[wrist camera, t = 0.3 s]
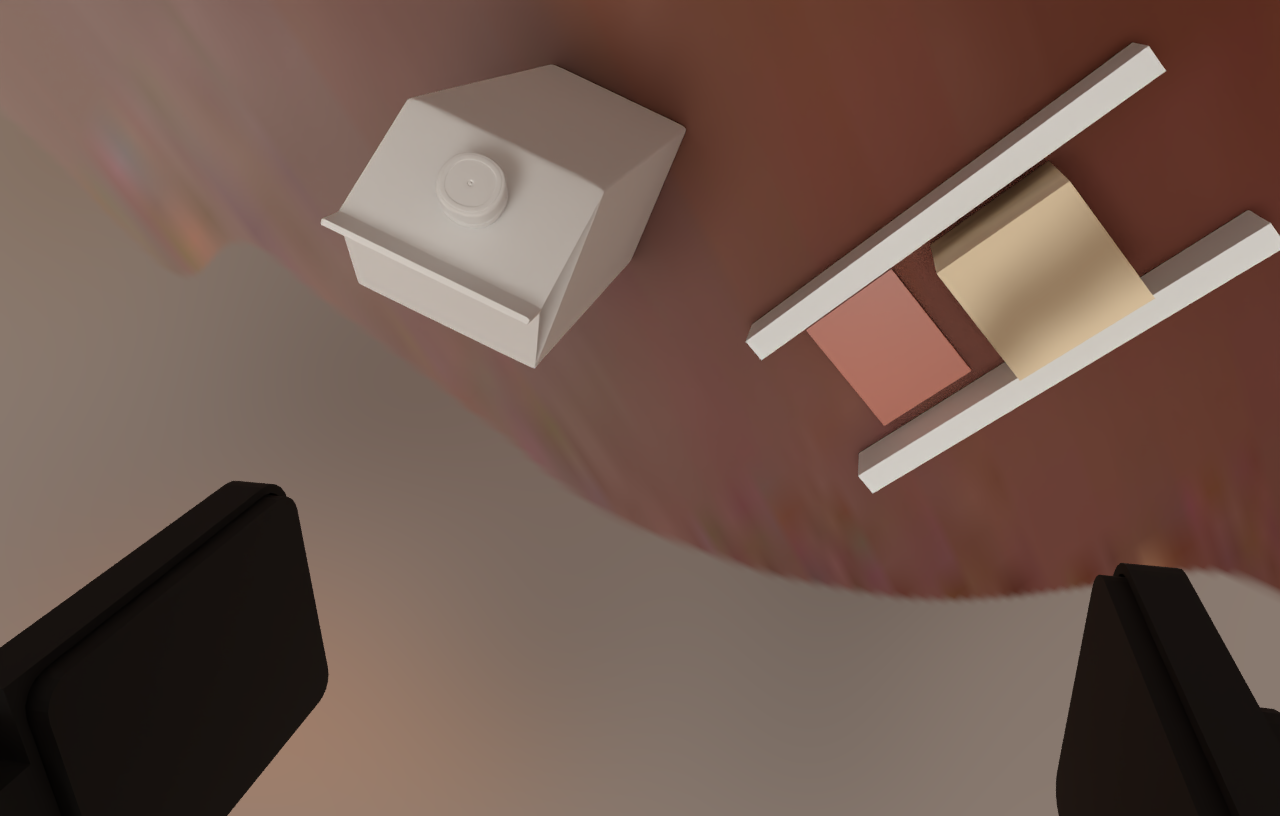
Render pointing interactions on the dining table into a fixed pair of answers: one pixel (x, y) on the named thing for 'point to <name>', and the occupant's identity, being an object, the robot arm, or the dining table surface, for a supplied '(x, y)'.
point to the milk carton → (507, 204)
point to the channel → (913, 344)
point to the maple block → (1038, 271)
